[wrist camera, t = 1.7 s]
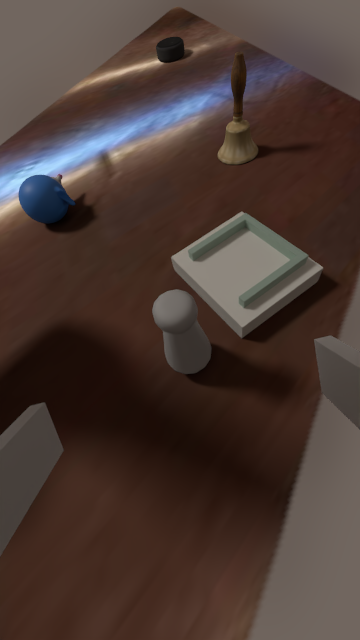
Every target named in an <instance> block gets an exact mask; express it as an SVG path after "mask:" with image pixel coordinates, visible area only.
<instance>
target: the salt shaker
mask: <svg viewBox="0 0 360 640" xmlns="http://www.w3.org/2000/svg"><path fill="white" fill-rule="evenodd" d="M152 312H153V316H154V320H155V322H156V324H157V325H158V326H159V327H160V328H161V329H162V330H163V336H164V348H165V356H166V359H167V362H168V364H169V365H170V366H171V367H172V368H173V369H174V370H175V371H177V372H180V373H184V374H192V373H197V372H198V371H200V370H201V369H203V368H205V366H206V365H207V363H208V362H209V360H210V358H211V345H210V343H209V340H208V338H207V336H206V335H205V333H204V331H203V330H202V328H201V326H200V325H199V323H198V322H197V313H198V309H197V306H196V303H195V300H194V299H193V297H192V296H191V295H190V294H188V293H187V292H186V291H181V290H171V291H167V292H165V293H163V294H162V295H160V296H159V297H158V298H157V300H156V301H155V302H154V306H153V310H152Z"/></svg>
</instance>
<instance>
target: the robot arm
mask: <svg viewBox="0 0 360 640" xmlns="http://www.w3.org/2000/svg"><path fill="white" fill-rule="evenodd" d="M314 343H315V350H316V356H317V363H318V370H319V376H320V383H321V390H322V393H323V394H324V395H325V396H326V397H327V398H328V399H329V400H330V401H331V402H332V403H333V404H334V405H335V406H336V407H337V408H338V409H339V410H340V411H341V412H342V413H343V414H344V415H346V417H347V418H348V419H350V420H351V421H352V422H353V423H354V424H355V425H356V426H357V427H358V428H359V429H360V351H359V350H357V349H355V348H353V347H351V346H349V345H347V344H345V343H344V342H342V341H340V340H338V339H336V338H334V337H332V336H327V337H323V338H318V339H314ZM63 451H64V450H63V447H62V444H61V442H60V439H59V437H58V434H57V432H56V429H55V427H54V424H53V422H52V419H51V417H50V414H49V412H48V409H47V407H46V404H45V402H44V403H40V404H36V405H31V406H29V407H28V408H27V409H26V410H25V411H24V412H23V413H22V414H21V415H20V416H19V417H18V418H17V419H16V420H15V421H14V422H13V423H12V424H11V425H10V426H9V427H8V428H7V429H6V430H5V431H4V432H3V433H2V434H1V435H0V556H1V554H2V553H3V551H4V549H5V548H6V546H7V544H8V543H9V541H10V539H11V538H12V536H13V534H14V533H15V531H16V529H17V528H18V526H19V524H20V523H21V521H22V519H23V518H24V516H25V514H26V513H27V511H28V509H29V507H30V506H31V504H32V502H33V501H34V499H35V497H36V496H37V494H38V492H39V491H40V489H41V487H42V486H43V484H44V482H45V481H46V479H47V477H48V476H49V474H50V472H51V471H52V469H53V467H54V466H55V464H56V462H57V461H58V459H59V457H60V456H61V454H62V452H63Z"/></svg>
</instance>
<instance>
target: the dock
mask: <svg viewBox="0 0 360 640" xmlns="http://www.w3.org/2000/svg"><path fill="white" fill-rule="evenodd" d="M171 259H172V263H173V266H174V270H175V271H176V272H177V273H178V274H179V275H180V276H181V277H182V278H183V279H184V280H185V281H186V282H187V283H188V284H189V285H190V286H191V287H192V288H193V289H194V290H195V291H196V292H197V293H198V294H199V295H200V296H201V297H202V299H203V300H204V301H205V302H206V303H207V304H208V305H209V306H210V307H211V308H212V309H213V310H214V311H215V312H216V313H217V314H218V315H219V316H220V317H221V318H222V319H223V320H224V321H225V322H226V323H227V324H228V325H229V326H230V327H231V328H232V329H233V330H234V331H235V332H236V333H237V334H238V335H239V336H240V337H241V338H243V337H244V336H246V335H247V334H248V333H250V332H251V331H252V330H254V329H255V328H256V327H258V326H259V325H260V324H262V323H263V322H264V321H266V320H267V319H268V318H270V317H271V316H272V315H274V314H275V313H276V312H278V311H279V310H280V309H282V308H283V307H284V306H286V305H287V304H288V303H290V302H291V301H292V300H294V299H295V298H296V297H298V296H299V295H300V294H302V293H303V292H304V291H306V290H307V289H308V288H310V287H311V286H312V285H314V284H315V283H316V282H318V280H319V277H320V275H321V272H322V270H323V267H322V266H320V265H319V264H317V263H316V262H314V261H313V260H312V259H310V258H309V257H308V255H307V254H306V253H304V252H303V251H301V250H300V249H298V248H297V247H295V246H294V245H292V244H291V243H289V242H288V241H286V240H285V239H283V238H282V237H280V236H279V235H278V234H276V233H275V232H273V231H272V230H270V229H269V228H267V227H266V226H264V225H263V224H261V223H260V222H258V221H257V220H255V219H254V218H252V217H251V216H250V215H248V214H247V213H245V214H244V213H243V212H241V213H239V214H237V215H236V216H234V217H233V218H231V219H230V220H228V221H227V222H225V223H223V224H222V225H220V226H219V227H217V228H216V229H214V230H213V231H211V232H209V233H208V234H206V235H205V236H203V237H202V238H200V239H199V240H197V241H196V242H194V243H192V244H191V245H189V246H188V247H186V248H185V249H183V250H182V251H180V252H178V253H177V254H175V255H174V256H172V257H171Z"/></svg>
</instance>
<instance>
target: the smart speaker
mask: <svg viewBox="0 0 360 640" xmlns="http://www.w3.org/2000/svg"><path fill="white" fill-rule="evenodd" d="M156 50H157V56H158V59H159V60H160V61H161V62H172V61H175V60H178V59H180V58H181V57H182V56H183V55H184V43H183V40H182V39H181V38H180V37H170V38H166V39H164V40H162V41H160V42H159V43H158V44H157V46H156Z"/></svg>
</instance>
